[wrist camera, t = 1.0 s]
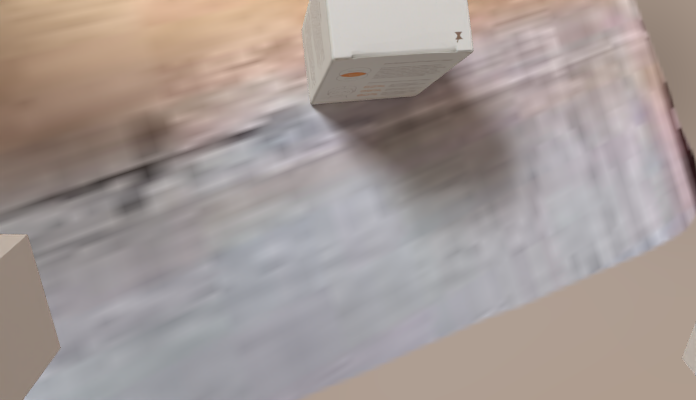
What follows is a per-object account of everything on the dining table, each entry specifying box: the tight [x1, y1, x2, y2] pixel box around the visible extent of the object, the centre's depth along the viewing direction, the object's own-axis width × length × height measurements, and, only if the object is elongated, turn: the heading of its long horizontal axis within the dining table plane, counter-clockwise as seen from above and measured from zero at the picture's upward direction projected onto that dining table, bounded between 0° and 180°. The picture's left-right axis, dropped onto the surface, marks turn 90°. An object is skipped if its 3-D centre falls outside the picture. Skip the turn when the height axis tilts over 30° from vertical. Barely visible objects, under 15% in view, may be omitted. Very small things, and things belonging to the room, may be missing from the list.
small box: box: [302, 0, 473, 105], centre depth 33 cm, size 8×6×10 cm
